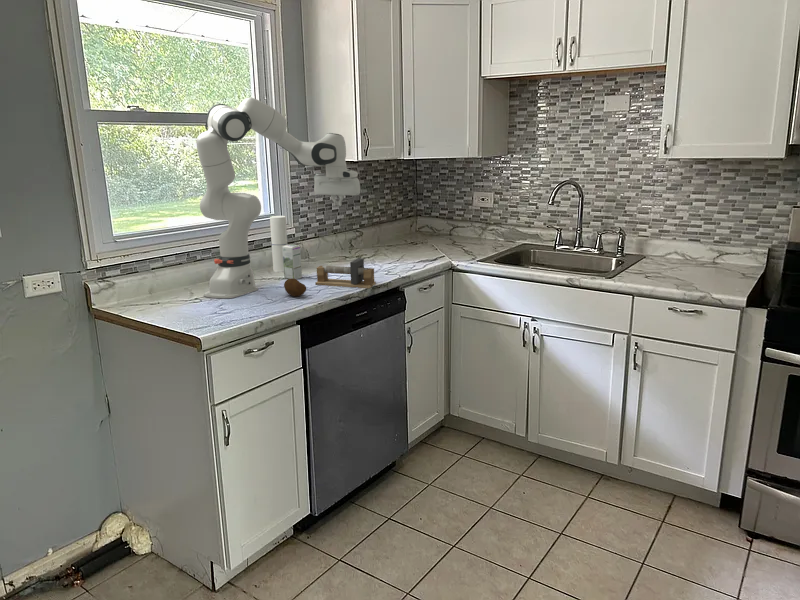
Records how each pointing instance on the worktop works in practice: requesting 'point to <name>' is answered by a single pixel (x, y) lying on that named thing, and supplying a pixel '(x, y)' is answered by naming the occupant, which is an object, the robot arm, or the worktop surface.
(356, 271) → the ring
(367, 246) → the worktop surface
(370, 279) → the pipe rig
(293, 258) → the syrup box
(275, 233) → the cylindrical container
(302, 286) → the potato
